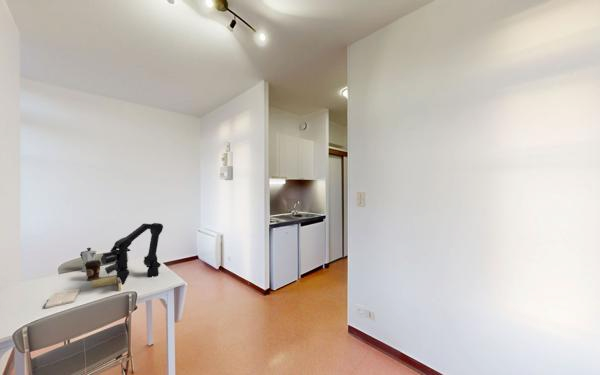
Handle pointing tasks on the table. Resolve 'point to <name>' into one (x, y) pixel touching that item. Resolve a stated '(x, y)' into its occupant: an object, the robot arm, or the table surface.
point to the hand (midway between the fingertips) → (122, 282)
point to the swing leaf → (118, 283)
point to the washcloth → (62, 298)
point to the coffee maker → (87, 257)
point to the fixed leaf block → (104, 281)
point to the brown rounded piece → (92, 269)
